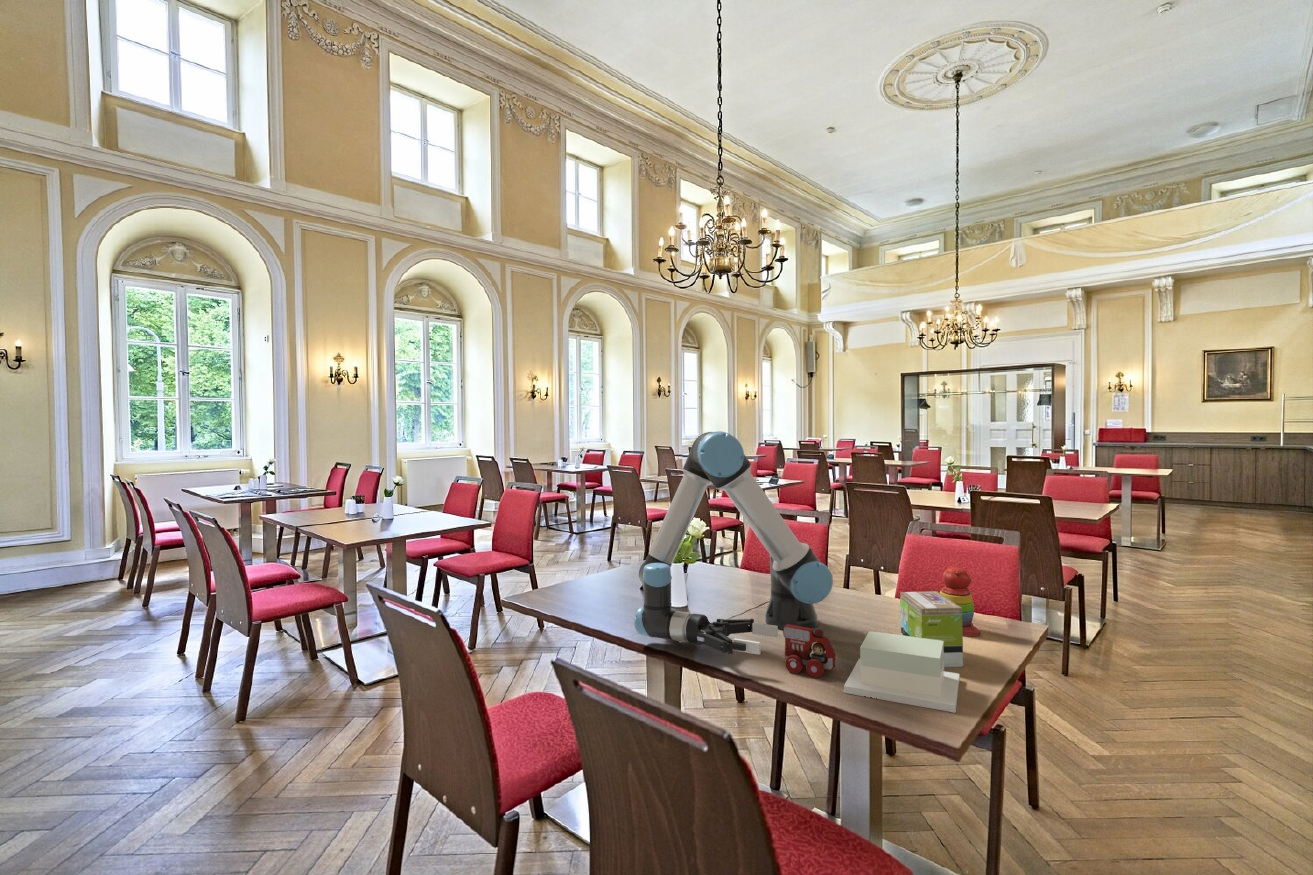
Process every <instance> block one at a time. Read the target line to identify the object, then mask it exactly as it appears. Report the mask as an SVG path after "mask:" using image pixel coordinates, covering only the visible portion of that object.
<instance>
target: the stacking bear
mask: <svg viewBox="0 0 1313 875" xmlns="http://www.w3.org/2000/svg"><path fill="white" fill-rule="evenodd" d="M942 578H943V579H942V580H943V584H944V586H943V587H942V588H941V590H940V591H939V593H940V594H941V595H943V596H944V597H946V598H947V599H949V600H950V601H952V602H954V603H955V604H957V605H958V606H960V607H961V608H962V629H963V636H964V637H979V636H981V630H980V629H979V628H977V627H976V626H975V625H974V623H973V618H974V615H975V604H974V603H975V602H974V600H973V596H972V593H971V591H970V589H969V588H968V587H970V585H971V584H972V577H971V576H970V575H969V574H968V573H967V571H966V570H964V569H963V568H961V567H957V566H956V567H955V566H953V565H949V566H948V568H947V569H945V571H943V574H942Z"/></svg>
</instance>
